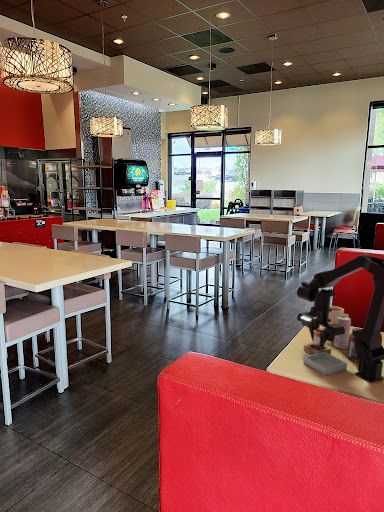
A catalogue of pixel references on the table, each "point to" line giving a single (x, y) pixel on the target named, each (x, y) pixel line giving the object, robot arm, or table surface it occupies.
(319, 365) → the tray
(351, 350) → the supplement bottle
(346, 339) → the energy drink
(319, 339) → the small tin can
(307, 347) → the wooden square frame
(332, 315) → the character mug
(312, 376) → the table surface
